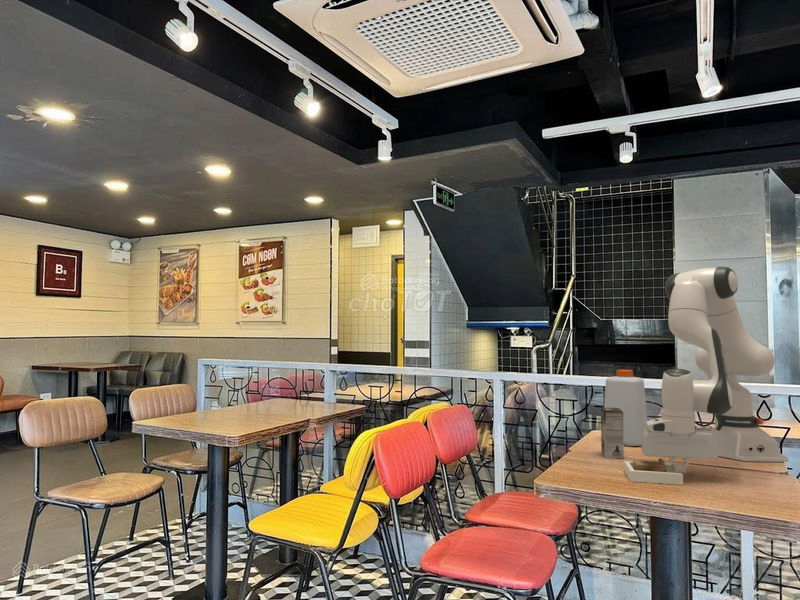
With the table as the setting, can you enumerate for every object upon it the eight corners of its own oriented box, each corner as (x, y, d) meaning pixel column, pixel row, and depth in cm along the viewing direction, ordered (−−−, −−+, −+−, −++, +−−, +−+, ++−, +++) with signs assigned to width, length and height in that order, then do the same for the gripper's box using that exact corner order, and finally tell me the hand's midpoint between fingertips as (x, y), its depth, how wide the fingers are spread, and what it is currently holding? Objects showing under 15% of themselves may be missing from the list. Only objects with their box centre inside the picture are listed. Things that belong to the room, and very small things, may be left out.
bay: (672, 473, 173) (672, 463, 173) (683, 485, 160) (682, 474, 160) (624, 470, 176) (624, 461, 176) (630, 481, 163) (630, 471, 164)
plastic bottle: (612, 437, 231) (611, 368, 232) (651, 442, 221) (650, 370, 223) (598, 443, 219) (598, 370, 221) (639, 448, 210) (638, 372, 211)
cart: (661, 475, 171) (661, 457, 171) (667, 482, 164) (666, 463, 164) (633, 474, 173) (632, 456, 173) (637, 480, 165) (637, 461, 166)
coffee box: (600, 452, 202) (600, 407, 203) (619, 453, 201) (619, 407, 202) (604, 458, 193) (604, 410, 194) (624, 459, 192) (624, 411, 193)
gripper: (714, 424, 168) (715, 472, 167) (639, 421, 173) (640, 467, 172) (720, 428, 162) (721, 477, 161) (643, 425, 167) (644, 472, 166)
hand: (679, 472), depth 167 cm, fingers closed
